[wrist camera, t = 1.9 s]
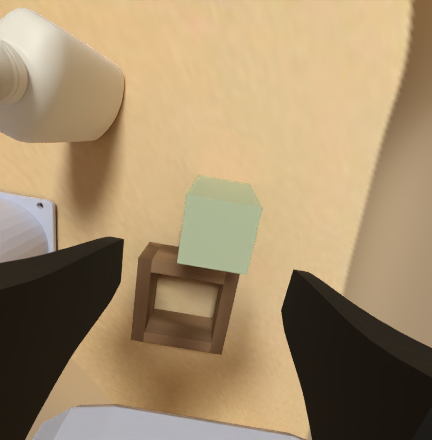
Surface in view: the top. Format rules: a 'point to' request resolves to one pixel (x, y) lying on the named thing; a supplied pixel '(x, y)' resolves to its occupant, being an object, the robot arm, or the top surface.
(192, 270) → the socket block
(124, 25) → the top surface
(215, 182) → the pale green block
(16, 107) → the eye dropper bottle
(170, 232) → the top surface
